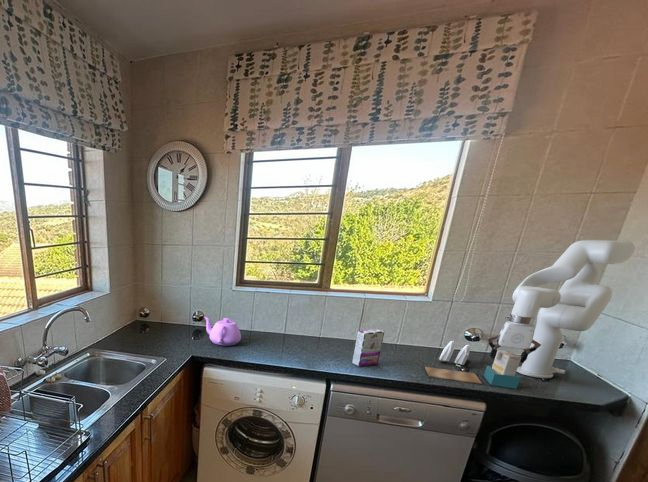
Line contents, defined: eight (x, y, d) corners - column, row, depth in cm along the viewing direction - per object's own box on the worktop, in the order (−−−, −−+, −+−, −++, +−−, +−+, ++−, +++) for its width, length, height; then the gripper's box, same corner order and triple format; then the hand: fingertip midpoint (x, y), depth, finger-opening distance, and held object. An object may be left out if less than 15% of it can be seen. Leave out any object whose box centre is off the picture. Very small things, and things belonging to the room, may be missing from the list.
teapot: (208, 335, 238) (209, 312, 233) (244, 339, 229) (246, 316, 224) (195, 344, 220) (196, 320, 215) (234, 350, 211) (237, 324, 206)
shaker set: (438, 363, 194) (444, 341, 190) (435, 360, 198) (441, 338, 194) (467, 365, 191) (474, 343, 187) (463, 363, 195) (470, 341, 191)
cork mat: (474, 374, 181) (474, 373, 181) (481, 384, 170) (482, 383, 170) (424, 367, 188) (425, 366, 188) (428, 376, 178) (429, 375, 177)
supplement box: (511, 386, 168) (522, 356, 163) (498, 385, 169) (509, 355, 164) (500, 379, 176) (510, 350, 171) (487, 378, 176) (497, 349, 172)
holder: (507, 379, 175) (511, 368, 174) (516, 388, 166) (520, 377, 164) (483, 376, 179) (487, 365, 177) (490, 385, 169) (494, 374, 167)
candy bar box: (369, 361, 196) (377, 328, 190) (377, 364, 192) (385, 331, 186) (350, 363, 193) (357, 330, 187) (358, 366, 189) (365, 333, 183)
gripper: (497, 319, 163) (483, 359, 169) (553, 324, 156) (536, 366, 162) (492, 315, 169) (479, 354, 175) (545, 320, 162) (529, 361, 168)
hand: (506, 360), depth 168 cm, fingers open, 9 cm apart
